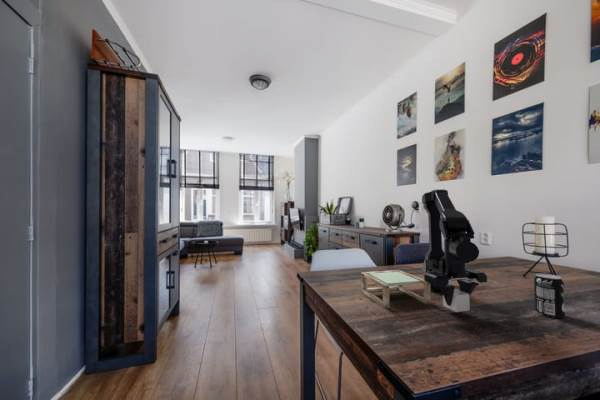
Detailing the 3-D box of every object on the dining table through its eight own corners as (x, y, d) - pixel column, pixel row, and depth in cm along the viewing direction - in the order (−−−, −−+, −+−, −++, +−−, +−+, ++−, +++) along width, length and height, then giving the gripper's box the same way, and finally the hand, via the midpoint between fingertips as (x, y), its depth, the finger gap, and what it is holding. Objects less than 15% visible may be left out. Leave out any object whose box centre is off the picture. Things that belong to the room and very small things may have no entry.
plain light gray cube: (455, 304, 80) (455, 288, 80) (469, 310, 75) (469, 294, 75) (443, 305, 79) (442, 290, 79) (456, 311, 74) (455, 295, 74)
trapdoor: (398, 274, 99) (397, 271, 99) (420, 283, 87) (420, 280, 87) (368, 276, 96) (368, 273, 96) (387, 286, 84) (387, 283, 84)
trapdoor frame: (400, 287, 102) (399, 269, 102) (431, 304, 85) (430, 282, 85) (360, 291, 98) (360, 272, 98) (385, 308, 81) (384, 285, 81)
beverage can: (556, 311, 78) (554, 273, 79) (570, 320, 72) (569, 279, 73) (530, 308, 81) (529, 272, 81) (542, 317, 74) (541, 277, 75)
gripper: (457, 249, 88) (458, 293, 87) (412, 251, 83) (413, 297, 83) (487, 255, 77) (489, 305, 76) (437, 258, 73) (438, 311, 72)
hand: (455, 304), depth 77 cm, fingers closed on plain light gray cube, 5 cm apart
